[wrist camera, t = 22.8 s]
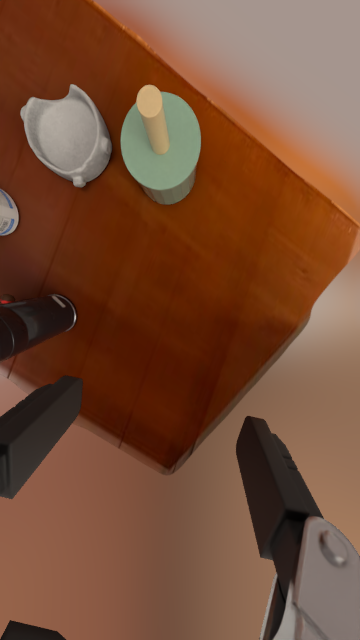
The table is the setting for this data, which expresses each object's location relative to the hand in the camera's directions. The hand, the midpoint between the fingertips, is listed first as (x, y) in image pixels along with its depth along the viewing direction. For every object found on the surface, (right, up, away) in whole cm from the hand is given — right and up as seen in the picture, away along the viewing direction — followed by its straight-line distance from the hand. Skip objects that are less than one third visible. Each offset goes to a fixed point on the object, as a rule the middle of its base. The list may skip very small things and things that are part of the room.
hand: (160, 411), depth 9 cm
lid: (-2, +32, +20) cm, 38 cm away
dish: (-19, +39, +29) cm, 52 cm away
